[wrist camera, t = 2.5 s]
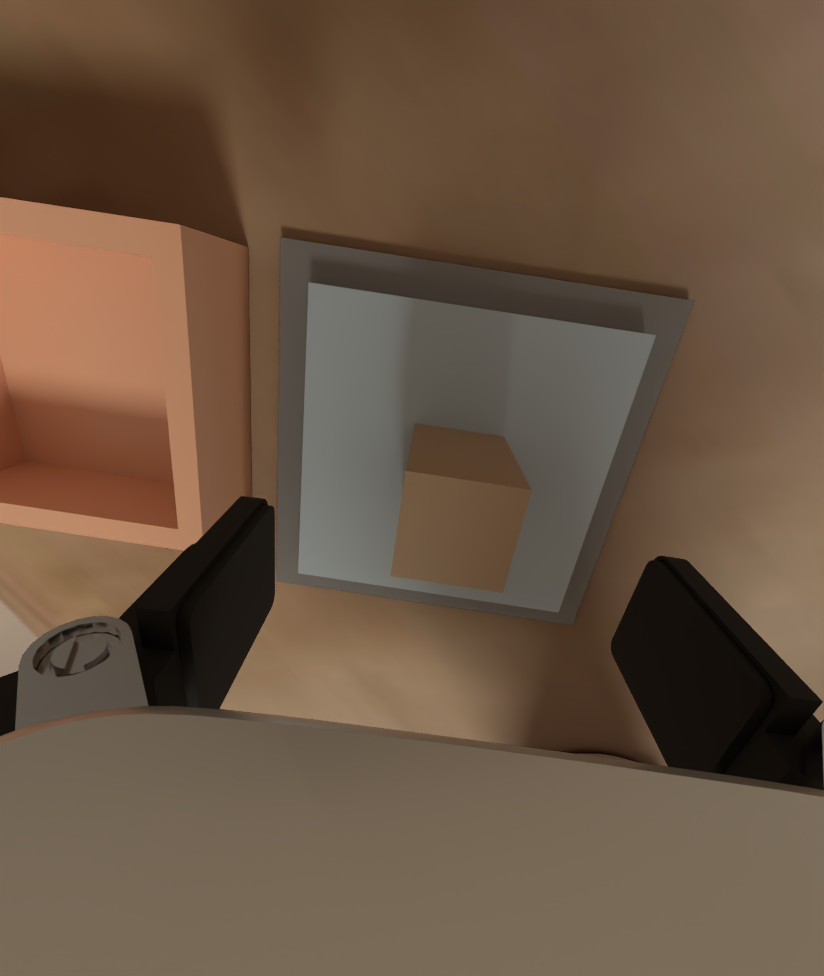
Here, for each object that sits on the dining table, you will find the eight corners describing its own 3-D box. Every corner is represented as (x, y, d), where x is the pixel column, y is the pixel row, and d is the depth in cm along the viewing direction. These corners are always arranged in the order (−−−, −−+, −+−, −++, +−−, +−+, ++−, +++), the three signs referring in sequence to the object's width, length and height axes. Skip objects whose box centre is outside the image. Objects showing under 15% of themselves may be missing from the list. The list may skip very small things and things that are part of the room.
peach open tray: (247, 247, 17) (180, 224, 13) (251, 503, 22) (203, 553, 18) (-37, 203, 17) (-207, 165, 13) (28, 469, 22) (-78, 511, 18)
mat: (688, 300, 17) (694, 300, 17) (570, 620, 24) (572, 625, 24) (283, 239, 17) (280, 237, 17) (279, 576, 24) (276, 580, 24)
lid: (644, 334, 17) (764, 347, 11) (553, 600, 23) (598, 712, 17) (315, 283, 17) (243, 268, 11) (303, 562, 23) (251, 660, 17)
